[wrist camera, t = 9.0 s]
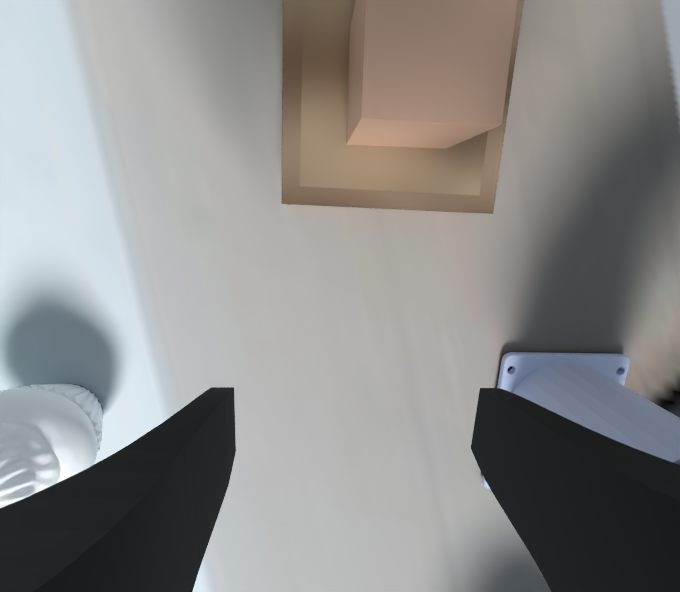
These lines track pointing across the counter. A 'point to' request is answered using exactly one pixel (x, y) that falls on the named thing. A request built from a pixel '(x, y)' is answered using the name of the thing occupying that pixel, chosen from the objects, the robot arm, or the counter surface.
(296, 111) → the tan brown tray
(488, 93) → the peach tan block
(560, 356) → the robot arm
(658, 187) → the counter surface
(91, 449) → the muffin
